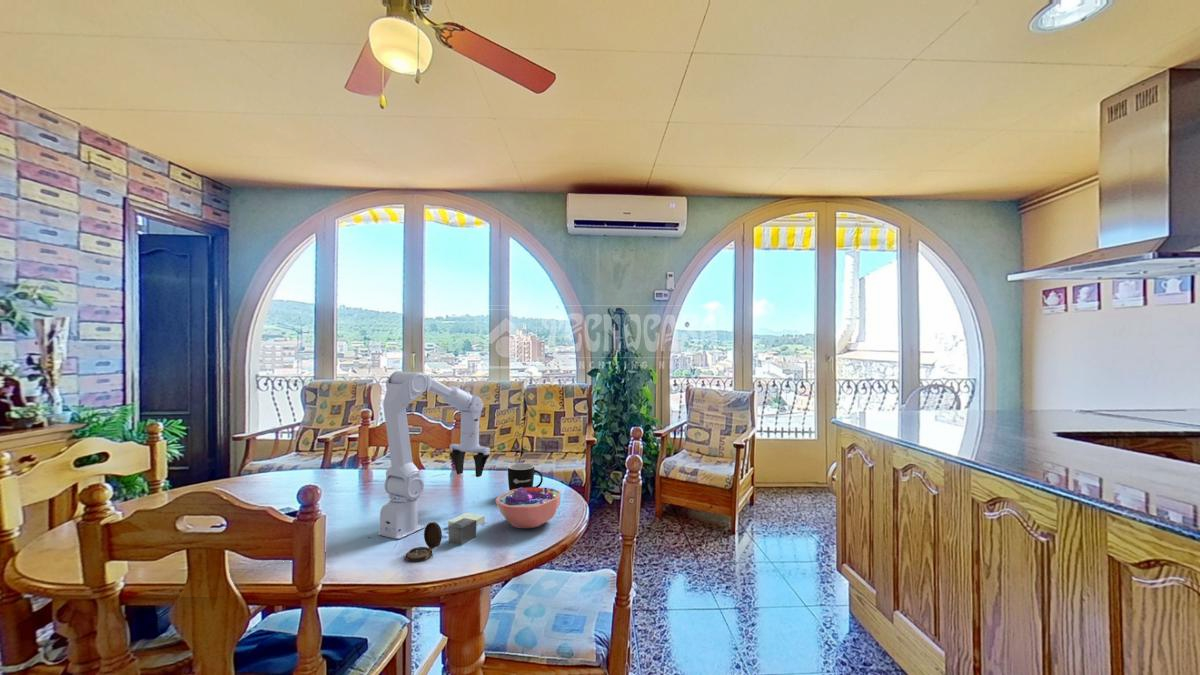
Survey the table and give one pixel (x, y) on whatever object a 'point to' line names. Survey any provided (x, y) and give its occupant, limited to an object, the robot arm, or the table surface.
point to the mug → (522, 476)
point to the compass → (432, 540)
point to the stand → (467, 515)
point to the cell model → (529, 506)
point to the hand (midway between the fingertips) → (469, 474)
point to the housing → (462, 531)
